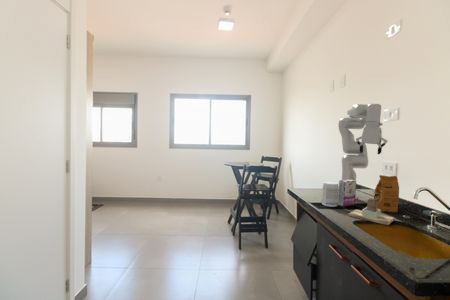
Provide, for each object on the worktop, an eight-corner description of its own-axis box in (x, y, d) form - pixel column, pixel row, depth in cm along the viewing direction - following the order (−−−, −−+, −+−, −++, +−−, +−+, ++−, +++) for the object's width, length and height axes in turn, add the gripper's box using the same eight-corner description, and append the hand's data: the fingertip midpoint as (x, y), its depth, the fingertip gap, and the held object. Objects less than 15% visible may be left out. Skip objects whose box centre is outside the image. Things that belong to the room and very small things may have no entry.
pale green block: (366, 212, 160) (367, 206, 160) (380, 215, 156) (380, 209, 155) (361, 215, 154) (362, 209, 154) (375, 218, 149) (376, 212, 149)
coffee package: (370, 207, 178) (373, 173, 176) (390, 208, 177) (393, 174, 176) (378, 212, 168) (381, 176, 166) (399, 213, 167) (402, 177, 166)
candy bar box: (348, 203, 187) (350, 179, 185) (355, 205, 182) (357, 180, 181) (337, 204, 181) (338, 180, 180) (343, 206, 177) (345, 181, 176)
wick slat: (369, 212, 158) (370, 198, 157) (375, 213, 156) (377, 199, 155) (366, 214, 154) (367, 199, 154) (373, 215, 152) (374, 200, 151)
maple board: (356, 211, 167) (356, 209, 166) (394, 220, 153) (394, 217, 153) (348, 215, 157) (348, 213, 157) (388, 225, 143) (388, 222, 143)
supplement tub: (340, 206, 178) (342, 183, 177) (331, 208, 173) (332, 184, 172) (327, 202, 186) (329, 181, 185) (318, 204, 181) (319, 182, 180)
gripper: (390, 125, 162) (387, 154, 164) (359, 124, 174) (357, 151, 176) (387, 125, 157) (384, 155, 158) (355, 124, 169) (352, 152, 170)
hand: (370, 153), depth 167 cm, fingers open, 9 cm apart
